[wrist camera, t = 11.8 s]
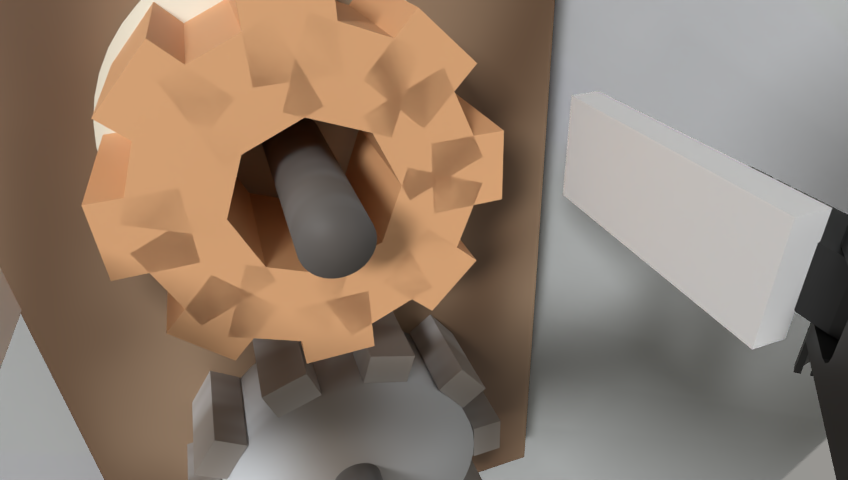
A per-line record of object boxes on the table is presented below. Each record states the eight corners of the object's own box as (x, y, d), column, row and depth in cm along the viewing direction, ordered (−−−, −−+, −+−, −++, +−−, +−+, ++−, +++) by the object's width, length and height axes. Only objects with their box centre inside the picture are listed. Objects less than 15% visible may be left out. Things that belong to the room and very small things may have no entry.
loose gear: (438, -56, 15) (508, -39, 12) (447, 243, 20) (498, 312, 17) (49, -23, 13) (5, 10, 10) (161, 307, 18) (157, 402, 14)
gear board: (525, -91, 18) (726, -73, 11) (505, 425, 29) (597, 579, 23) (-115, -44, 14) (-383, 25, 7) (156, 535, 25) (148, 763, 19)
